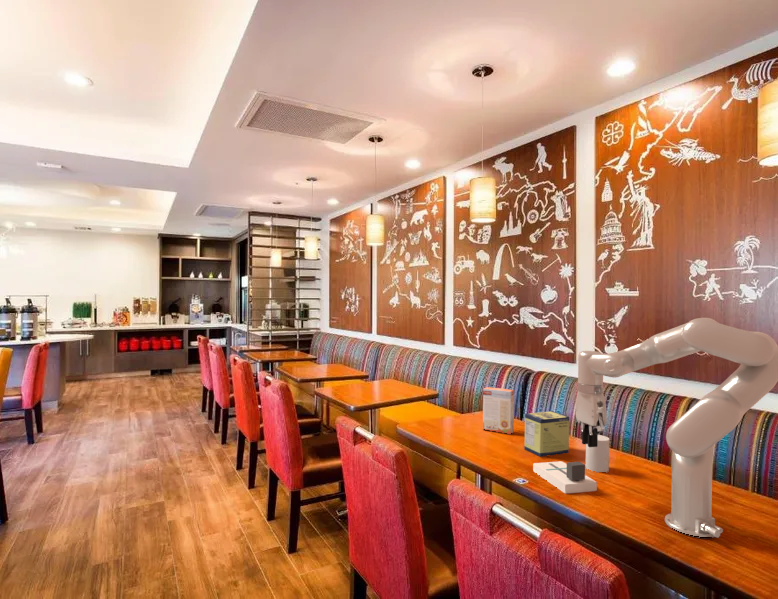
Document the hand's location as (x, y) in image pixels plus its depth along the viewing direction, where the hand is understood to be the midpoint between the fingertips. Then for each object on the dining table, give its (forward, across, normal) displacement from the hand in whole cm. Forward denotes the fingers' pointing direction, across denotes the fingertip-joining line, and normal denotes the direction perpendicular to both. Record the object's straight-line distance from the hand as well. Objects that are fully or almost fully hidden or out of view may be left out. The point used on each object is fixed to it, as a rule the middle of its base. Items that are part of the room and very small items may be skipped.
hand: (589, 444), depth 147 cm
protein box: (+17, +44, -12) cm, 49 cm away
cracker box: (+17, +75, -5) cm, 77 cm away
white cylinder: (+17, +22, -20) cm, 34 cm away
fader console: (+17, +14, 0) cm, 22 cm away
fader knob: (+14, +7, 0) cm, 15 cm away
